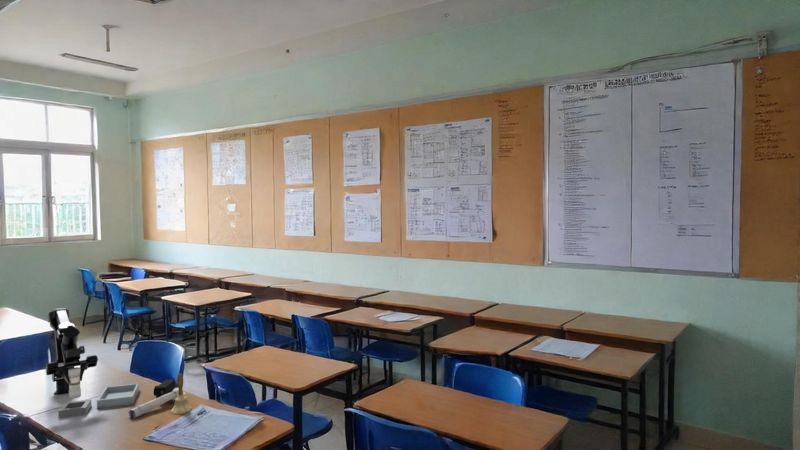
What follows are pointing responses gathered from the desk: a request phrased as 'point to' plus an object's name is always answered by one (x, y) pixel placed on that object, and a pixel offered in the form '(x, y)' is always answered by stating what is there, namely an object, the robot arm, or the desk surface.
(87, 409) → the socket block
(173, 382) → the digital camera
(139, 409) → the white long bar
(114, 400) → the tray
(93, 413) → the desk surface
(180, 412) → the hand bell
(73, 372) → the light bulb
